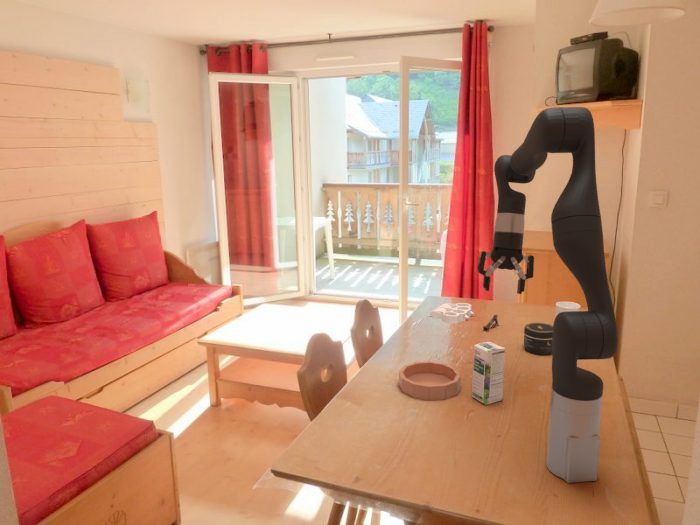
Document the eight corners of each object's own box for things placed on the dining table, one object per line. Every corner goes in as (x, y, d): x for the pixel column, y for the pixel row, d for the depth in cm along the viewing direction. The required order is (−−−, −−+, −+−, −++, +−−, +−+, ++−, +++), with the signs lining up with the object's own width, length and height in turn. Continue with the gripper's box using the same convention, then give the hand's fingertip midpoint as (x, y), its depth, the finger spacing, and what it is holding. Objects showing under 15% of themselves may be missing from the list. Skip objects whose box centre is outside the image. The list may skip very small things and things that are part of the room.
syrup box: (470, 396, 142) (472, 344, 139) (488, 391, 145) (490, 340, 142) (485, 405, 138) (488, 351, 134) (503, 400, 140) (506, 347, 137)
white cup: (552, 334, 187) (554, 306, 185) (555, 327, 194) (557, 300, 191) (577, 337, 183) (579, 309, 181) (579, 330, 190) (581, 303, 188)
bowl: (467, 397, 142) (467, 384, 141) (406, 401, 140) (406, 388, 139) (449, 372, 157) (450, 360, 156) (395, 375, 156) (395, 363, 155)
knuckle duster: (444, 307, 219) (480, 313, 212) (426, 320, 204) (463, 326, 197) (444, 299, 219) (480, 305, 211) (426, 311, 204) (463, 318, 196)
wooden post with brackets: (501, 323, 196) (498, 313, 194) (489, 337, 192) (487, 327, 190) (496, 322, 197) (494, 312, 195) (485, 335, 193) (482, 326, 191)
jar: (534, 357, 167) (536, 334, 166) (516, 346, 177) (518, 323, 175) (563, 354, 170) (564, 330, 168) (543, 343, 179) (545, 320, 178)
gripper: (484, 228, 141) (478, 290, 142) (540, 233, 140) (534, 295, 141) (479, 229, 149) (473, 288, 149) (532, 234, 148) (526, 293, 148)
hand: (503, 292), depth 145 cm, fingers open, 8 cm apart
